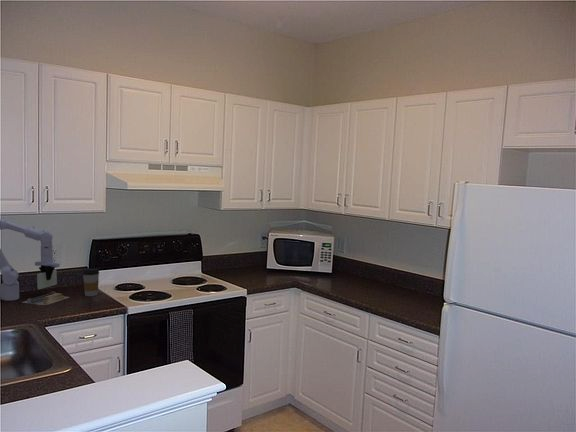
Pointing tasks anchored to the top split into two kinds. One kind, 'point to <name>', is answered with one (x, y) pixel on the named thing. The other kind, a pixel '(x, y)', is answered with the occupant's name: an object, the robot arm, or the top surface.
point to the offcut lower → (54, 300)
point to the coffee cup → (91, 281)
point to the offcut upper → (53, 296)
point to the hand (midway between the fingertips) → (47, 279)
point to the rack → (40, 299)
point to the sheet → (43, 282)
